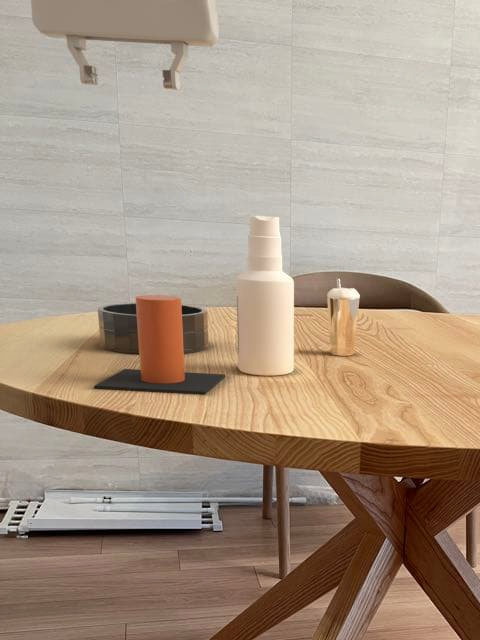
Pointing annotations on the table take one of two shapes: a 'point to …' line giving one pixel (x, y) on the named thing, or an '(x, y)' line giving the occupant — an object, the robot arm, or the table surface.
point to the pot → (123, 330)
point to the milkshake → (342, 319)
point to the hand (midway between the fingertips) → (130, 86)
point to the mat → (132, 381)
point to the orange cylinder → (160, 338)
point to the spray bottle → (265, 304)
